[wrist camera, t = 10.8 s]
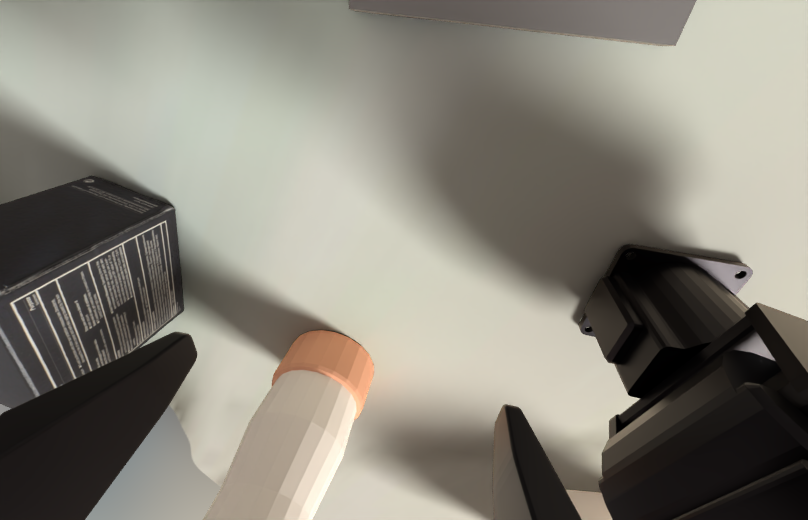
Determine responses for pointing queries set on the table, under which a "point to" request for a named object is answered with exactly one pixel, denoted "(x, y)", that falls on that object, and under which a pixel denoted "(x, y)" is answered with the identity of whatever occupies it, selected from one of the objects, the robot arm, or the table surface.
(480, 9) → the pin tray
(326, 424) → the pepper shaker
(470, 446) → the table surface
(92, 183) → the small box
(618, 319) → the robot arm
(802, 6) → the table surface
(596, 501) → the milk
